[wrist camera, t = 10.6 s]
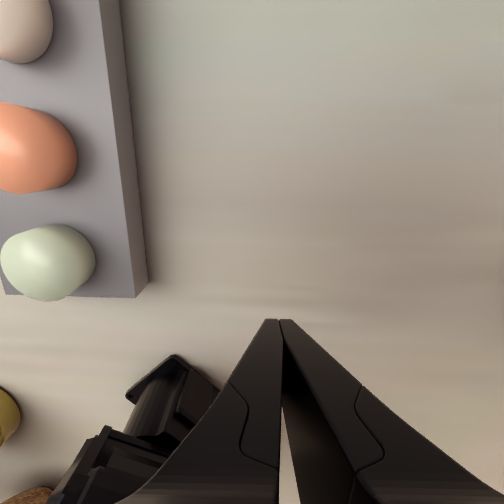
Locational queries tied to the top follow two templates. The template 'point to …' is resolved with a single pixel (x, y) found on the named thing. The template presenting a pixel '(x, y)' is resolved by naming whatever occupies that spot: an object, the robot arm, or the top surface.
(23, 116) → the terracotta button
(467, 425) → the top surface
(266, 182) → the top surface
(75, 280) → the sage button
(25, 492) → the brown rounded lump
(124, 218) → the button panel
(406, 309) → the top surface
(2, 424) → the gold metal figurine
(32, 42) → the cream button
